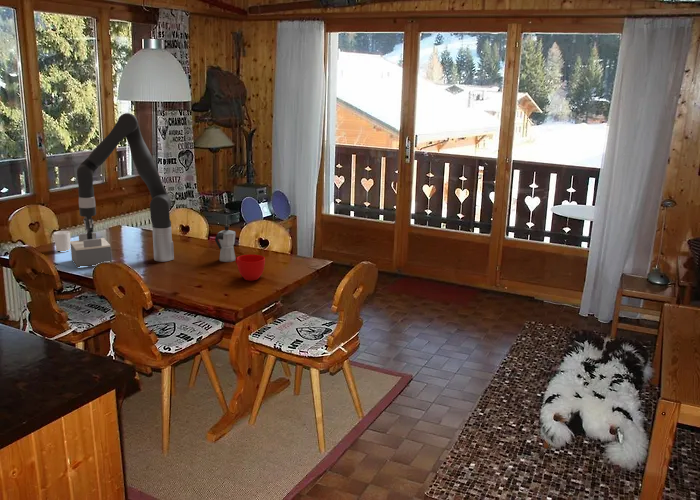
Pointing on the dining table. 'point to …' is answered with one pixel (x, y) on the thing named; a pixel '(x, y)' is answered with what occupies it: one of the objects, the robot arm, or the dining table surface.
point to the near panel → (81, 246)
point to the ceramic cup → (250, 266)
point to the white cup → (62, 240)
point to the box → (90, 256)
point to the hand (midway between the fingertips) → (89, 240)
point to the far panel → (84, 237)
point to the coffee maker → (226, 244)
